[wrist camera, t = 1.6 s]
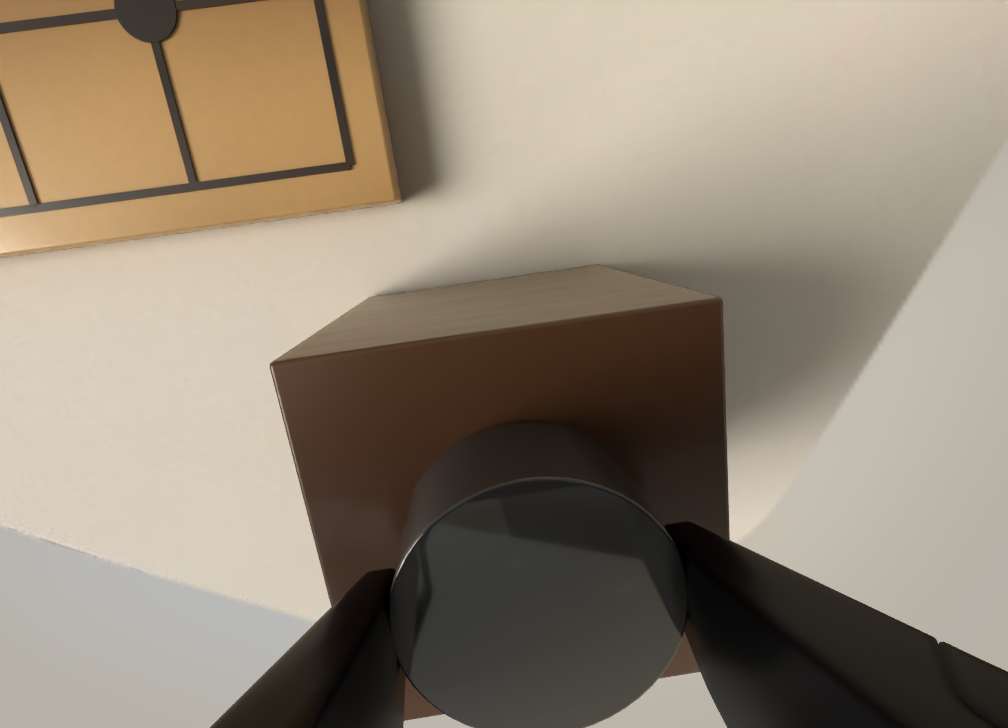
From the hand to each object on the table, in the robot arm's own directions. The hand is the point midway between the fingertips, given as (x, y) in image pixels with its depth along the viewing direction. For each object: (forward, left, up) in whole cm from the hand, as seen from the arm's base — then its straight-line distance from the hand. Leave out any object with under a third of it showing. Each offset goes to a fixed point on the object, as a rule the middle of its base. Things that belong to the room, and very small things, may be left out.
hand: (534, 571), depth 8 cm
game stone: (0, 0, -1) cm, 1 cm away
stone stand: (0, 0, -9) cm, 9 cm away
